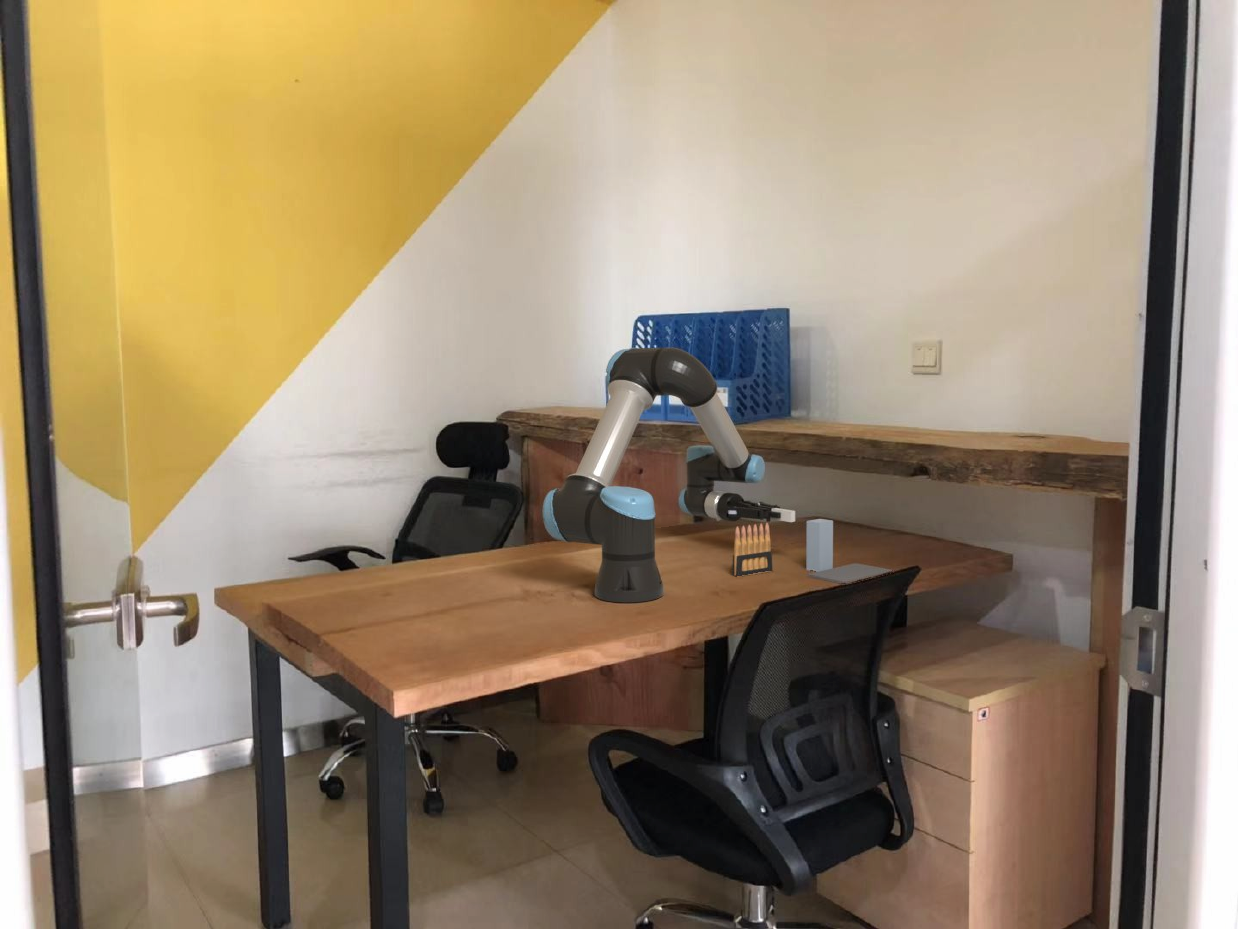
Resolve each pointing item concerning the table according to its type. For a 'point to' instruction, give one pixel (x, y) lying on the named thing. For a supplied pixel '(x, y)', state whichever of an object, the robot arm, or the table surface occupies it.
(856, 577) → the mat
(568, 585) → the table surface
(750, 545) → the ammunition clip
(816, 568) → the block
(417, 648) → the table surface
